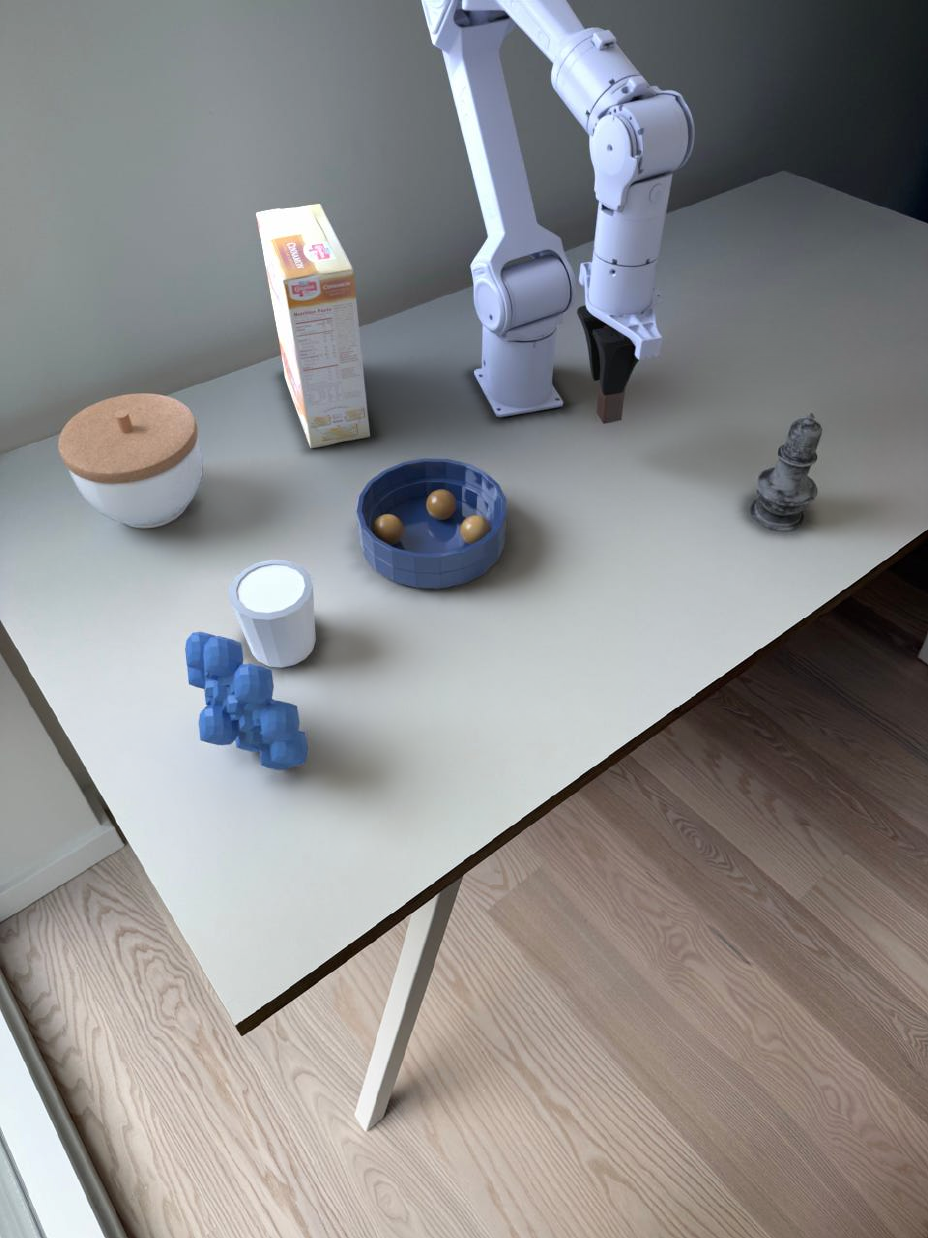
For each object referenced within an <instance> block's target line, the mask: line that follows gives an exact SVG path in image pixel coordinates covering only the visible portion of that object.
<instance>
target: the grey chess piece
mask: <svg viewBox="0 0 928 1238" xmlns="http://www.w3.org/2000/svg"><path fill="white" fill-rule="evenodd" d="M822 435H823V428H822V425H821V424H820V422H818V421H817V420H815V415H814V413H813V412H811V413H809V414H807V415H806V417H800V418H797V419H796V420H794V421H793V422H792V423H791V424H790V426H789V428H788V432H787V435H786V437H785V441H784V444H782V445H780V446H779V447H778V449H777V456H778V459H777V462H776V465H775V466H774V467H773V466H772V467H769V468H766V469H763V470H762V471H760V472H759V473H758V475H757V476H756V477H755V487H756V493H757V498H756V499H755V500H753V501H752V503H751V505H750V510H749V511H750V515H751V517H752V518H753V520H754V521H755V522H756V523H758V524H759V525H760V526H762V527H763V528H766V529H769V530H771V531H775V532H788V531H793V530H796V529H798V528H799V527H801V526H802V524H803V523H804V521H805V514H804V510H805V509H806V508H808V507H809V505H810V504H811V503H812V502H813V501H815V500H816V498H817V496H818V486H817V484H816V482H815V481H814V480H813V478H812V477H811V476H809V474H810V470H811V468H812V466H813V465H814V464H816V462H817V461H818V454H817V452H816V451H817V449H818V446H819V443H820V441H821V438H822Z"/></svg>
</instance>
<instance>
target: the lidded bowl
mask: <svg viewBox="0 0 928 1238" xmlns="http://www.w3.org/2000/svg"><path fill="white" fill-rule="evenodd" d="M57 448H58V453H59V455H60V458H61V459H62V461H63V464H64V465H65V467H66V468H67V470H68V472H69V474H70V476H71V479H72V481H73V483H74V484H75V486H76V488H77V489H78V491H79V493H80V494H81V496H83V498H84V499H85V501H87V503H88V504H89V505H90V506H91V507H92V508H93V509H94V510H95V511H97V512H98V513H100V514H101V515H103V516H105V517H107V518H108V519H110V520H111V521H115V522H117V523H121V524H123V525H125V526H127V527H132V528H135V529H155V528H158V527H162V526H165V525H167V524H169V523H171V522H174V521H175V520H177V519H178V518H179V517H180V516H182V515H183V513H184V512H185V511H186V509H187V507H188V505H190V503H191V502H192V501H193V499H194V498H195V496H196V495H197V492H198V490H199V488H200V486H201V481H202V477H203V465H204V464H203V451H202V446H201V441H200V437H199V428H198V424H197V420H196V417H195V415H194V413H193V411H192V410H191V409H190V408H189V407H188V406H187V405H186V404H184V403H182V402H181V401H180V400H177V399H176V398H173V397H171V396H166V395H163V394H156V393H147V392H142V393H127V394H122V395H118V396H113V397H109V398H106V399H103V400H101V401H98V402H95V403H94V404H91V405H89V406H87V407H86V408H84V409H82V410H81V411H79V412H78V413H76V414H75V415H74V416H73V417H71V418H70V419H69V420H68V422H67V423H66V424H65V425H64V427H63V428H62V430H61V432H60V434H59V437H58V441H57Z"/></svg>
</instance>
